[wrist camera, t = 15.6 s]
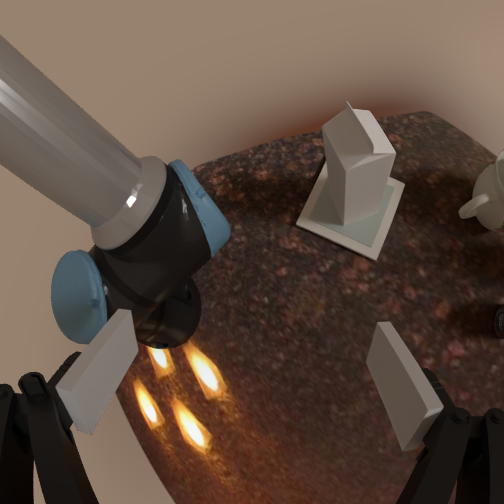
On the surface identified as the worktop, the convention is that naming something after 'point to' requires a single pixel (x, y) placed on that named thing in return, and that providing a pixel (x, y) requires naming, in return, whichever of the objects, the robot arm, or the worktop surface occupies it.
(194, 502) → the worktop surface
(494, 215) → the pitcher
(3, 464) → the robot arm
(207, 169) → the worktop surface
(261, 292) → the worktop surface
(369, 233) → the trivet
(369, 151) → the milk
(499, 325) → the supplement bottle
